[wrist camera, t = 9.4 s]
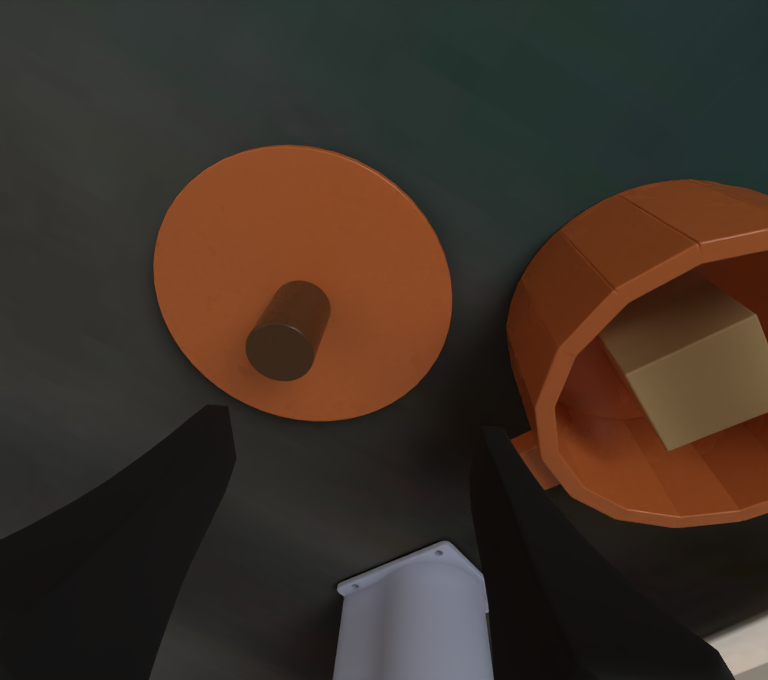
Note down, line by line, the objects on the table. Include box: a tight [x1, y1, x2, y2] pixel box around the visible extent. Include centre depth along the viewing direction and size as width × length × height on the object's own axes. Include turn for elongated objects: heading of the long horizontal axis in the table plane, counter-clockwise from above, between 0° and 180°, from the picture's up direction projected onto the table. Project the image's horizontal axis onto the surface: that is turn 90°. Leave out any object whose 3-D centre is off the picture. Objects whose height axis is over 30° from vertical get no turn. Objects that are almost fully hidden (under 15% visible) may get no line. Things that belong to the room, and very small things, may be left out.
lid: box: [153, 145, 452, 421], centre depth 19 cm, size 13×13×5 cm
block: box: [595, 269, 768, 451], centre depth 19 cm, size 4×4×5 cm
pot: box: [506, 179, 768, 528], centre depth 18 cm, size 12×18×6 cm
